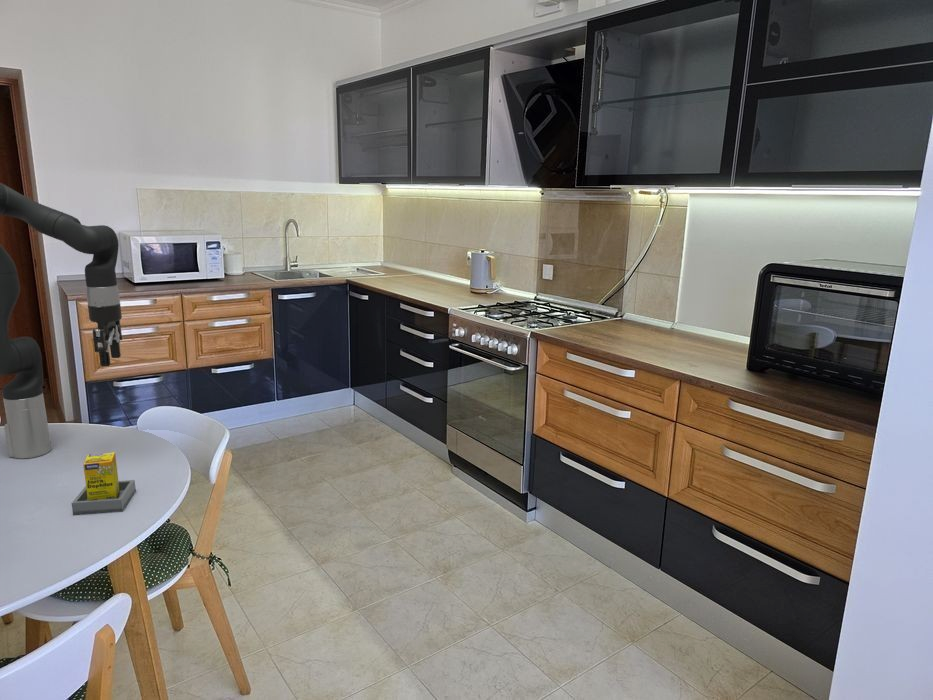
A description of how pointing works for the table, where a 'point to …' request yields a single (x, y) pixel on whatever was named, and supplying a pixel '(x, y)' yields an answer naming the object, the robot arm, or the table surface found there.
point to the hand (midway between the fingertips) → (111, 361)
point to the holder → (106, 505)
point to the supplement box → (101, 476)
